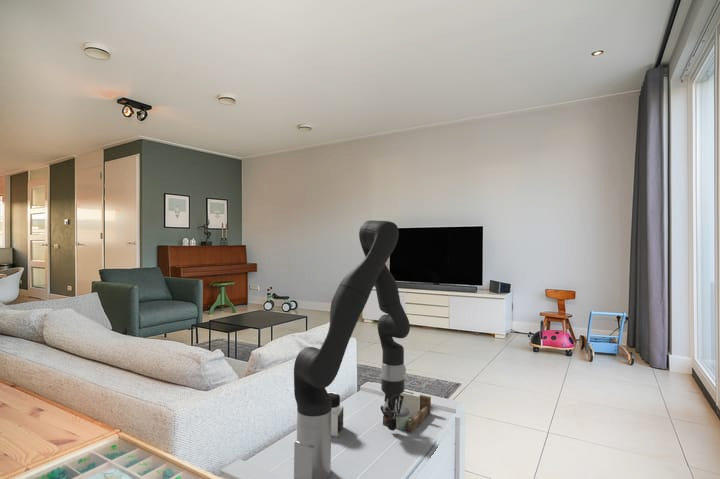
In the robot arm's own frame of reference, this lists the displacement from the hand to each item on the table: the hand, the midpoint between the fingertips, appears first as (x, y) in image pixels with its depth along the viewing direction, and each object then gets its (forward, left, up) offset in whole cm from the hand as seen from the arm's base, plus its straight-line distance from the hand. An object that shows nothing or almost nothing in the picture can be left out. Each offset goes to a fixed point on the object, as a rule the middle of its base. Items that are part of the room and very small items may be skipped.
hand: (392, 429), depth 128 cm
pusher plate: (+17, 0, -1) cm, 17 cm away
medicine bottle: (-10, +18, -2) cm, 21 cm away
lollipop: (+26, +11, -2) cm, 29 cm away
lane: (+11, 0, -1) cm, 12 cm away
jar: (+6, 0, -1) cm, 7 cm away
